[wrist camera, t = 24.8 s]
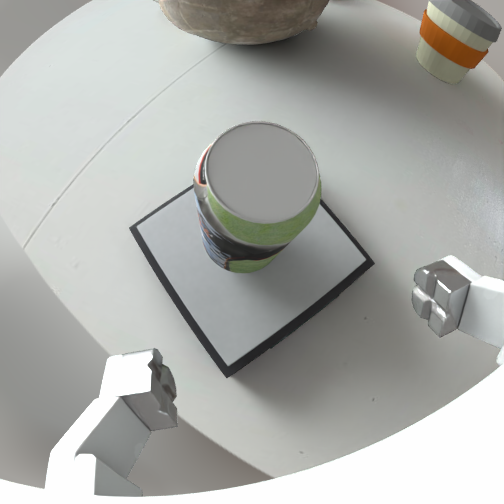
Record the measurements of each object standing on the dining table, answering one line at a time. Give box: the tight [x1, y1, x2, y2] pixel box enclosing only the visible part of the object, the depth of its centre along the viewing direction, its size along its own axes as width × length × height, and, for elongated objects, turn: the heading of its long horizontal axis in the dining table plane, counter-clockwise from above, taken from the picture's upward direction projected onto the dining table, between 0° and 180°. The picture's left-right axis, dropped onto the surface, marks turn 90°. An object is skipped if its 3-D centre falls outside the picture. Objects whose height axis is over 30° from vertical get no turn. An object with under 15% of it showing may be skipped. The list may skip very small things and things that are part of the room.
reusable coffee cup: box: [416, 0, 502, 84], centre depth 29 cm, size 13×13×15 cm
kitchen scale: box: [129, 184, 375, 378], centre depth 25 cm, size 15×15×3 cm
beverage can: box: [193, 121, 321, 273], centre depth 18 cm, size 6×7×12 cm
